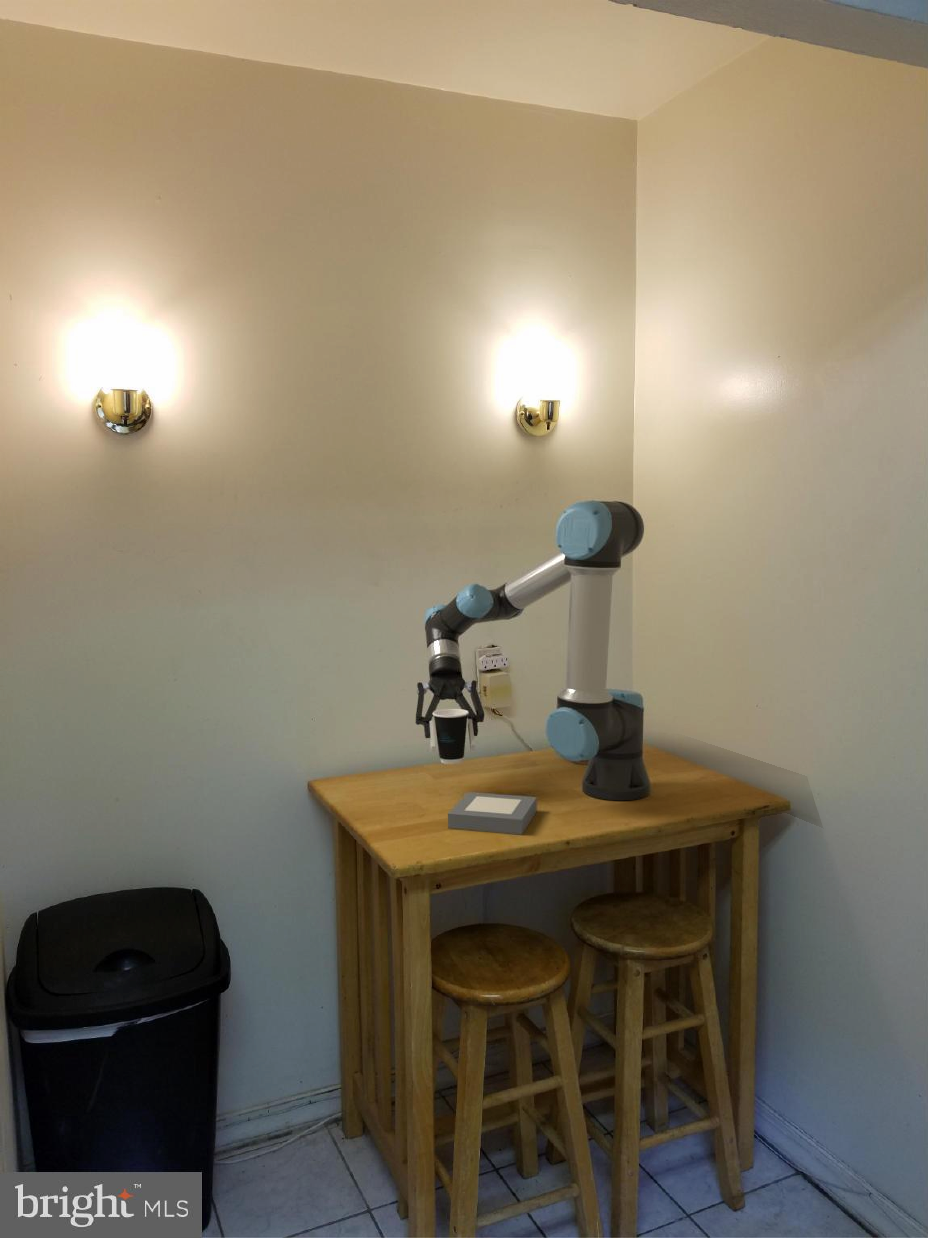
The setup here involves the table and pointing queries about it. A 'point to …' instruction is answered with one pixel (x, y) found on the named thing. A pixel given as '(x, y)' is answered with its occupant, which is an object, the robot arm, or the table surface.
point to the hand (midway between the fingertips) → (453, 748)
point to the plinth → (493, 813)
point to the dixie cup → (451, 734)
